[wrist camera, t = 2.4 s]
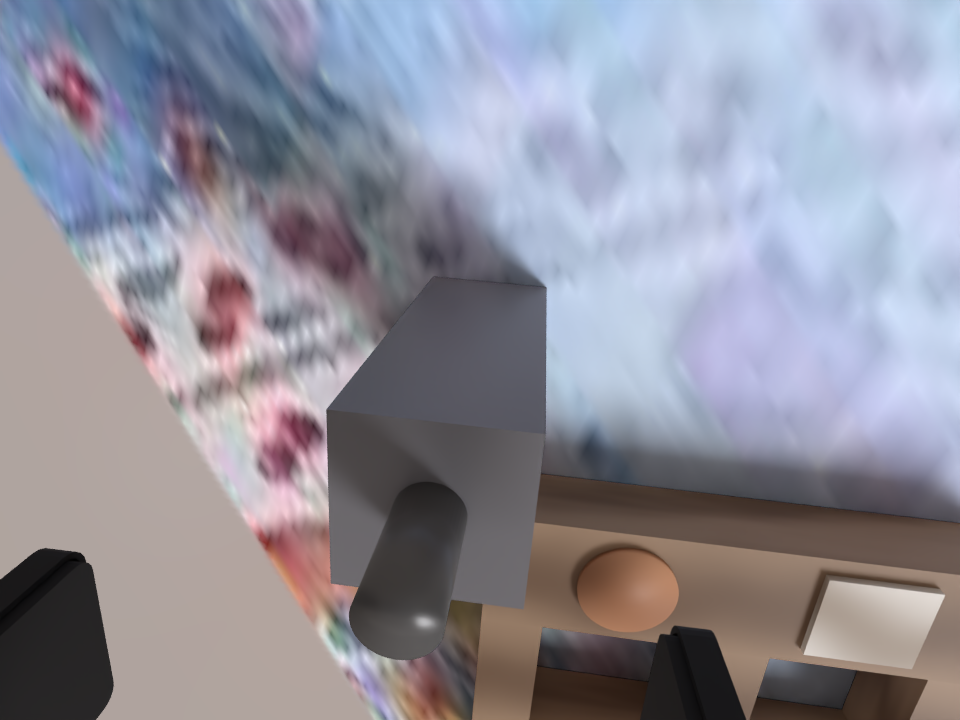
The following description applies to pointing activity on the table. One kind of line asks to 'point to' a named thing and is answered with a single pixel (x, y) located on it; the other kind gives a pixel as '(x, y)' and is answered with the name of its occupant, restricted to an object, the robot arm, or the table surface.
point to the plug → (439, 463)
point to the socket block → (729, 601)
